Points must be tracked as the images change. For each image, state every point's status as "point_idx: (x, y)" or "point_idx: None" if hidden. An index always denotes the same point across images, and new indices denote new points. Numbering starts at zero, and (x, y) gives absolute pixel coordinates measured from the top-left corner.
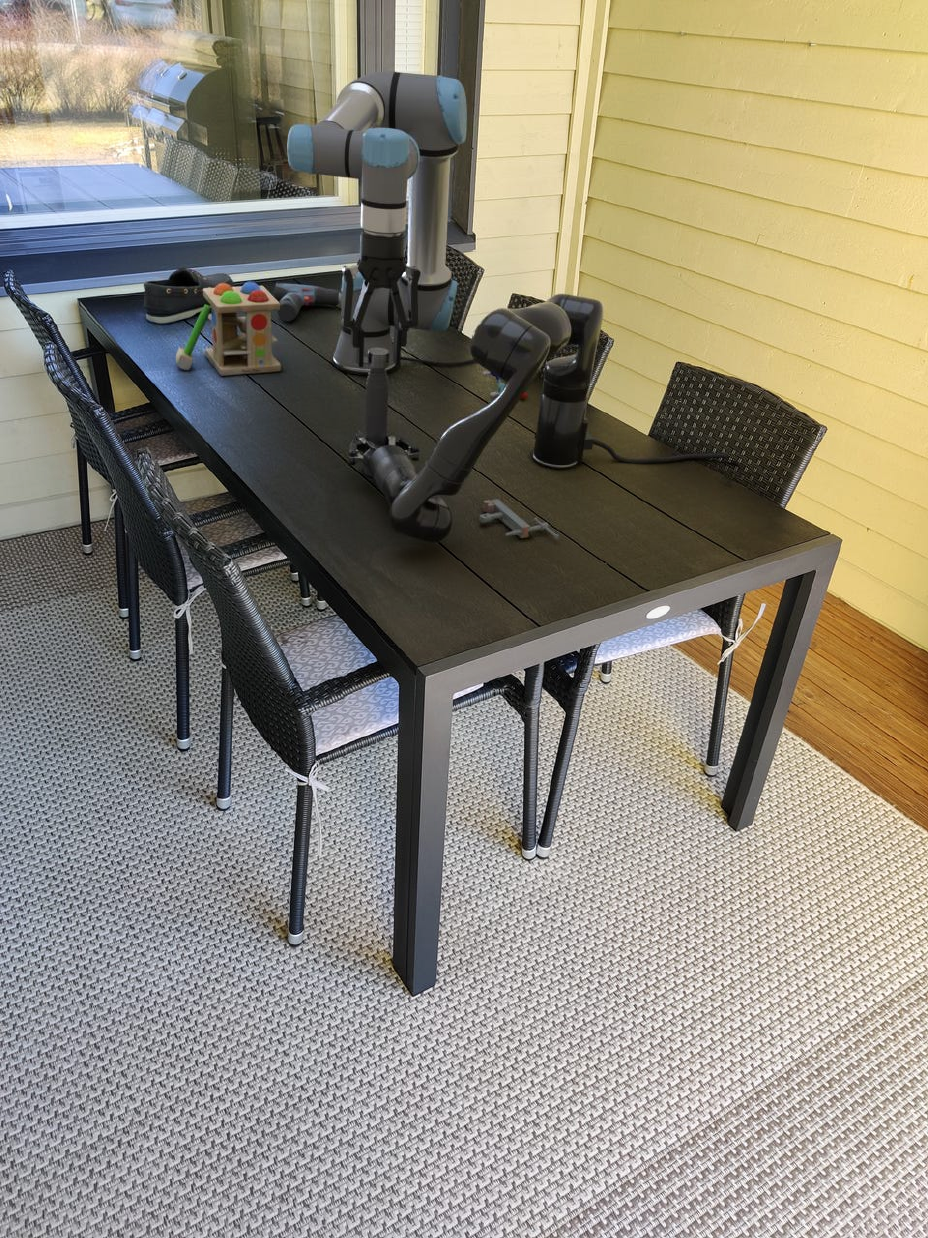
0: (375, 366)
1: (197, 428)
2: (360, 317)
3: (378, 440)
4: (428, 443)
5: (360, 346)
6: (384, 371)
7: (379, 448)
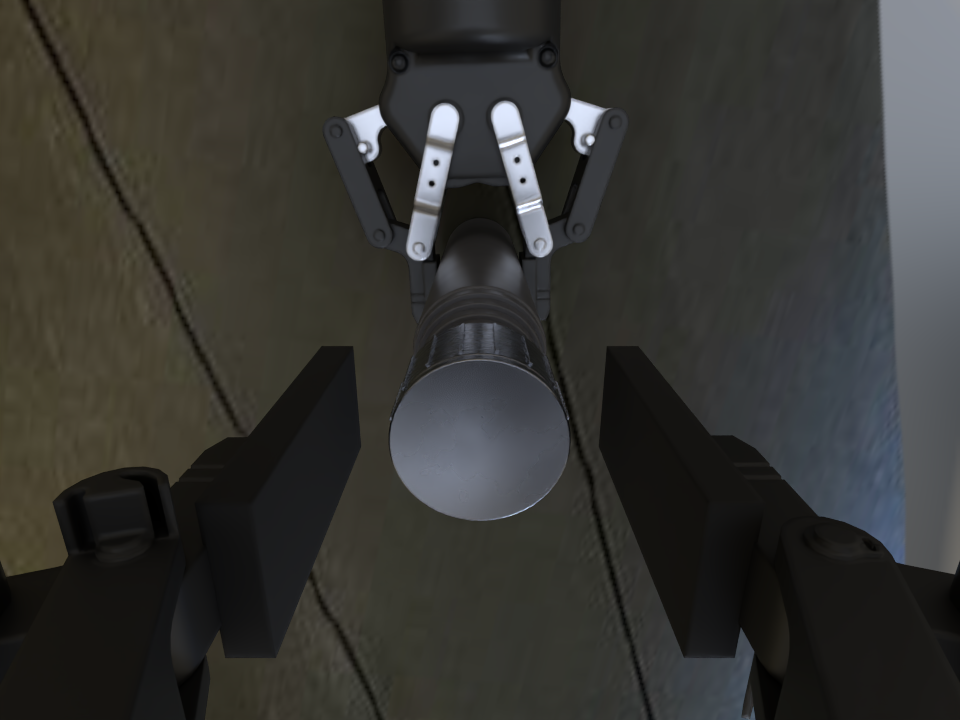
0: (517, 335)
1: None
2: (879, 659)
3: (477, 235)
4: None
5: (685, 412)
6: None
7: (521, 26)
